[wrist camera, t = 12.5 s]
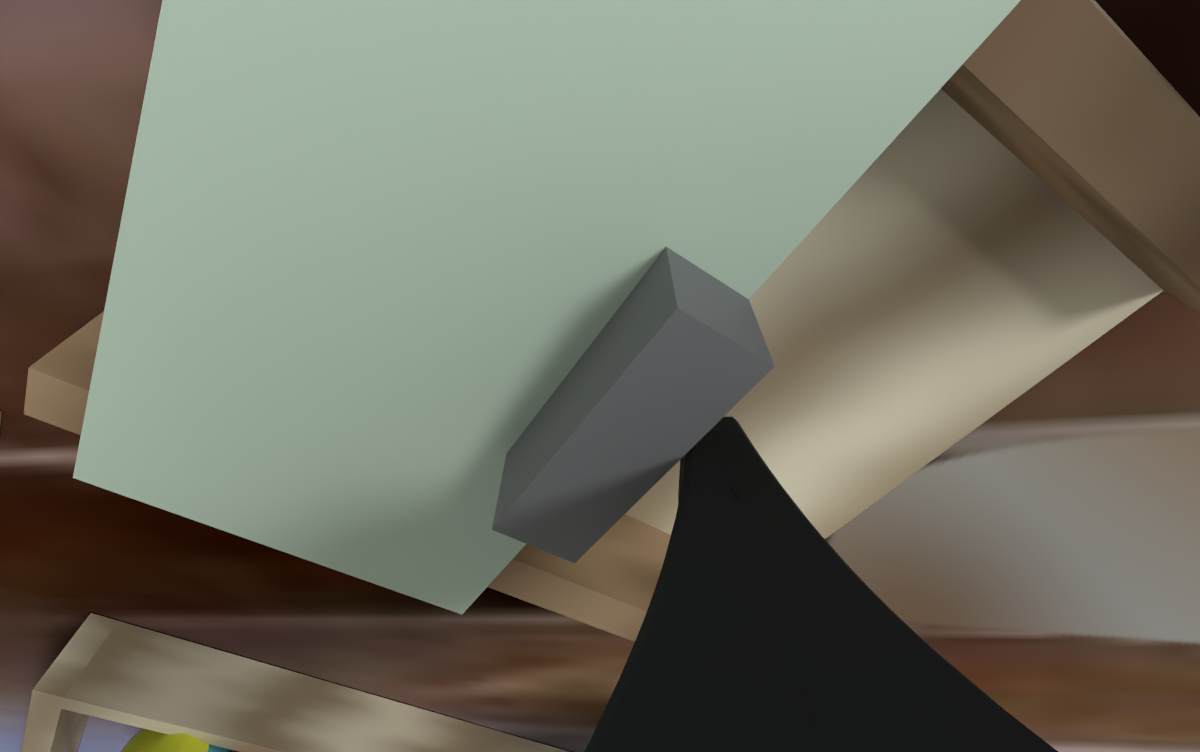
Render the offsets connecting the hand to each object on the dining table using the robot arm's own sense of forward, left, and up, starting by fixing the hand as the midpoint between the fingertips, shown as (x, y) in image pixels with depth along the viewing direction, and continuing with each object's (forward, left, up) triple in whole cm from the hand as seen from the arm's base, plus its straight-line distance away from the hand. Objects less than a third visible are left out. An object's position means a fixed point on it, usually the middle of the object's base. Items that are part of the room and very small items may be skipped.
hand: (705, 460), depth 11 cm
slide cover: (+5, 0, -1) cm, 6 cm away
